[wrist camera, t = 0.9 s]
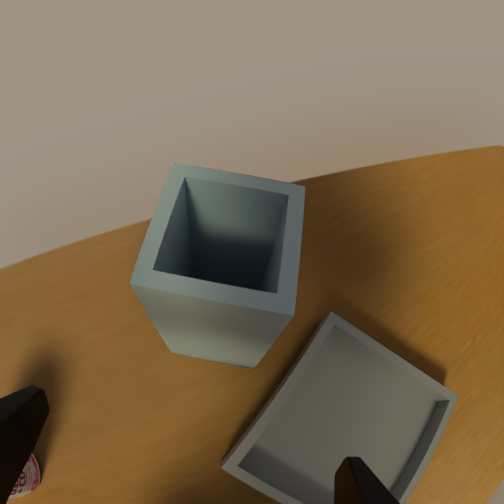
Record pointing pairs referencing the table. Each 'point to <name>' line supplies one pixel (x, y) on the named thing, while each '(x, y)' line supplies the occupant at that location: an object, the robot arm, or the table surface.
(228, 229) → the slim crate
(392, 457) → the shallow crate
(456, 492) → the table surface
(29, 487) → the pill bottle
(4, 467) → the robot arm
